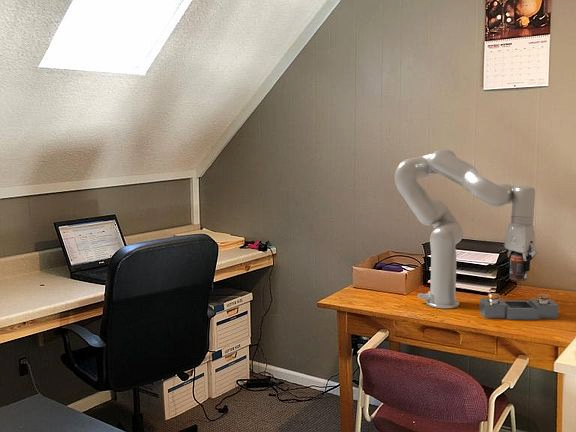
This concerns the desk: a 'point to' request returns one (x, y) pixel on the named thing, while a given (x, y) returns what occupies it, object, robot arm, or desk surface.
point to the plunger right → (543, 298)
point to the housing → (519, 309)
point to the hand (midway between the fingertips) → (518, 268)
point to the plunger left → (493, 297)
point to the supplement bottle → (517, 267)
